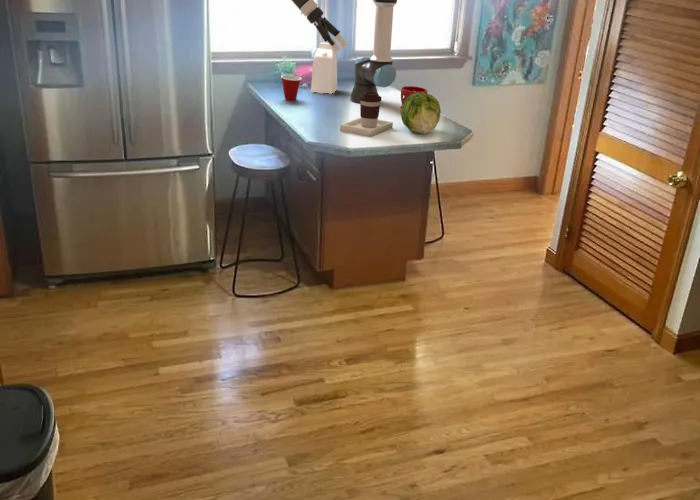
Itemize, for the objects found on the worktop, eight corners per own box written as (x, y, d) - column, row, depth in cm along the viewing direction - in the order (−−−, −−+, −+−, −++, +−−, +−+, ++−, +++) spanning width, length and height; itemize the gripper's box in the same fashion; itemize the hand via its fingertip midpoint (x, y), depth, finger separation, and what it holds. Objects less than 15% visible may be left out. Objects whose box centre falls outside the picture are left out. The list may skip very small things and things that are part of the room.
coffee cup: (382, 124, 336) (384, 92, 330) (376, 129, 328) (378, 96, 322) (361, 122, 339) (363, 89, 333) (355, 126, 330) (356, 93, 324)
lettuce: (403, 121, 315) (440, 98, 313) (388, 100, 334) (423, 77, 332) (421, 151, 326) (456, 129, 324) (405, 129, 345) (439, 108, 342)
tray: (362, 122, 343) (362, 116, 342) (392, 128, 336) (392, 122, 335) (340, 130, 328) (340, 124, 326) (370, 136, 320) (371, 130, 319)
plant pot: (403, 115, 361) (405, 91, 356) (396, 109, 372) (398, 85, 368) (428, 115, 364) (431, 91, 359) (420, 109, 375) (422, 85, 370)
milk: (337, 90, 408) (339, 42, 397) (331, 94, 397) (333, 45, 387) (316, 88, 410) (317, 41, 399) (310, 92, 400) (312, 43, 389)
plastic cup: (298, 102, 375) (298, 79, 370) (278, 100, 376) (278, 77, 372) (303, 98, 384) (304, 75, 380) (284, 96, 386) (284, 73, 381)
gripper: (313, 14, 345) (343, 49, 349) (298, 20, 323) (329, 57, 326) (325, 4, 342) (354, 39, 345) (310, 8, 320) (341, 46, 323)
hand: (342, 48), depth 336 cm, fingers open, 13 cm apart
